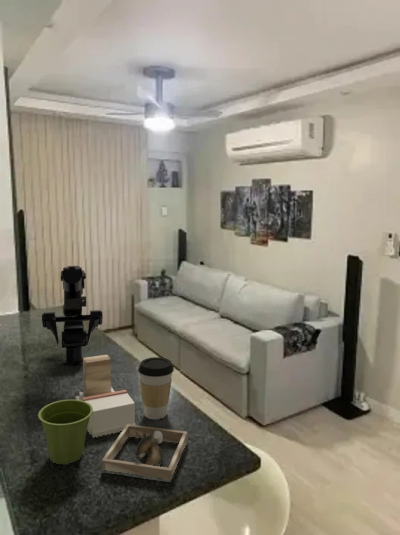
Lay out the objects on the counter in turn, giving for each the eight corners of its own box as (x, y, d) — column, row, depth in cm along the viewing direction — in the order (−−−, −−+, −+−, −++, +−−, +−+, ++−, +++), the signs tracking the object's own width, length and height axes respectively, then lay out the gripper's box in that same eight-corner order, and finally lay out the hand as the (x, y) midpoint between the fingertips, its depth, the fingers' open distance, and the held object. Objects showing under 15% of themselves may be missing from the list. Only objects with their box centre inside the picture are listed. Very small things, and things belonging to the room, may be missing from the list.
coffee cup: (178, 409, 121) (179, 359, 119) (164, 425, 112) (165, 372, 110) (147, 403, 124) (147, 354, 122) (131, 418, 115) (131, 366, 113)
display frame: (127, 435, 107) (127, 424, 106) (187, 443, 104) (187, 431, 104) (101, 472, 92) (101, 460, 91) (170, 483, 89) (171, 470, 88)
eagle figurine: (125, 446, 100) (127, 462, 91) (142, 419, 101) (145, 432, 92) (152, 461, 101) (156, 478, 92) (168, 435, 102) (174, 449, 93)
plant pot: (64, 479, 89) (62, 430, 88) (28, 460, 95) (26, 414, 94) (104, 452, 99) (103, 408, 97) (69, 437, 105) (68, 394, 104)
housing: (73, 400, 125) (73, 380, 124) (113, 393, 130) (113, 373, 129) (91, 438, 105) (90, 414, 104) (137, 428, 110) (137, 405, 109)
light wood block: (83, 396, 124) (82, 357, 122) (106, 391, 127) (106, 353, 126) (86, 402, 120) (86, 362, 118) (110, 398, 123) (110, 359, 122)
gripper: (41, 288, 132) (39, 333, 124) (102, 286, 137) (104, 330, 129) (43, 305, 141) (42, 348, 133) (101, 303, 146) (103, 345, 138)
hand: (73, 343), depth 133 cm, fingers open, 9 cm apart
